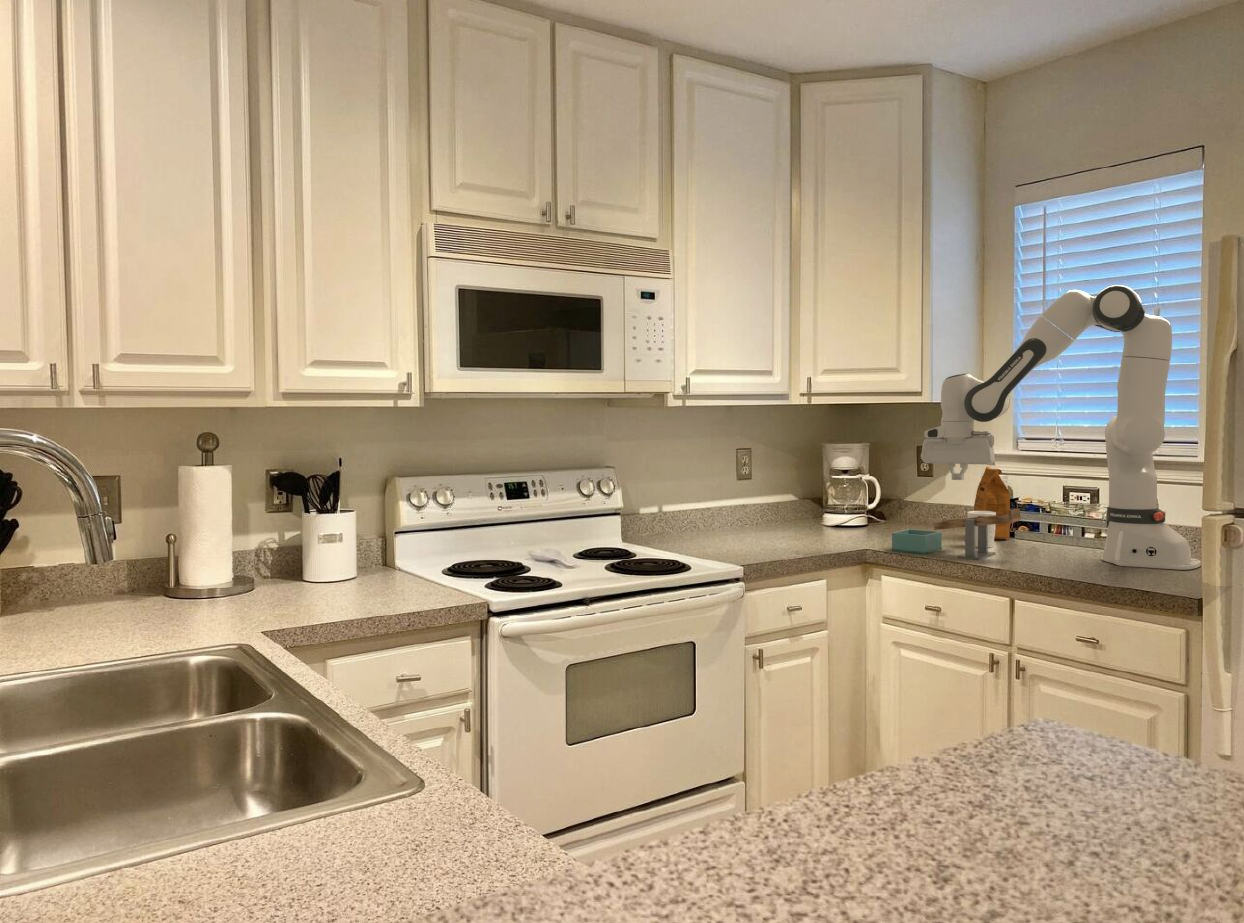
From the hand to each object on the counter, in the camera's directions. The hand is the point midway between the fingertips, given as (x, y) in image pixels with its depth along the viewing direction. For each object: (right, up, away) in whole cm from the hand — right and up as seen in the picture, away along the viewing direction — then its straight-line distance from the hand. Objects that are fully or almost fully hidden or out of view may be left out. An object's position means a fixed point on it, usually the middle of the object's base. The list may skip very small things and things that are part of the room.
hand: (957, 479), depth 270 cm
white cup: (+10, -20, +8) cm, 24 cm away
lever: (+4, -12, -7) cm, 15 cm away
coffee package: (+19, -19, +23) cm, 35 cm away
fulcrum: (+2, -21, -9) cm, 23 cm away
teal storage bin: (-11, -20, +3) cm, 23 cm away
